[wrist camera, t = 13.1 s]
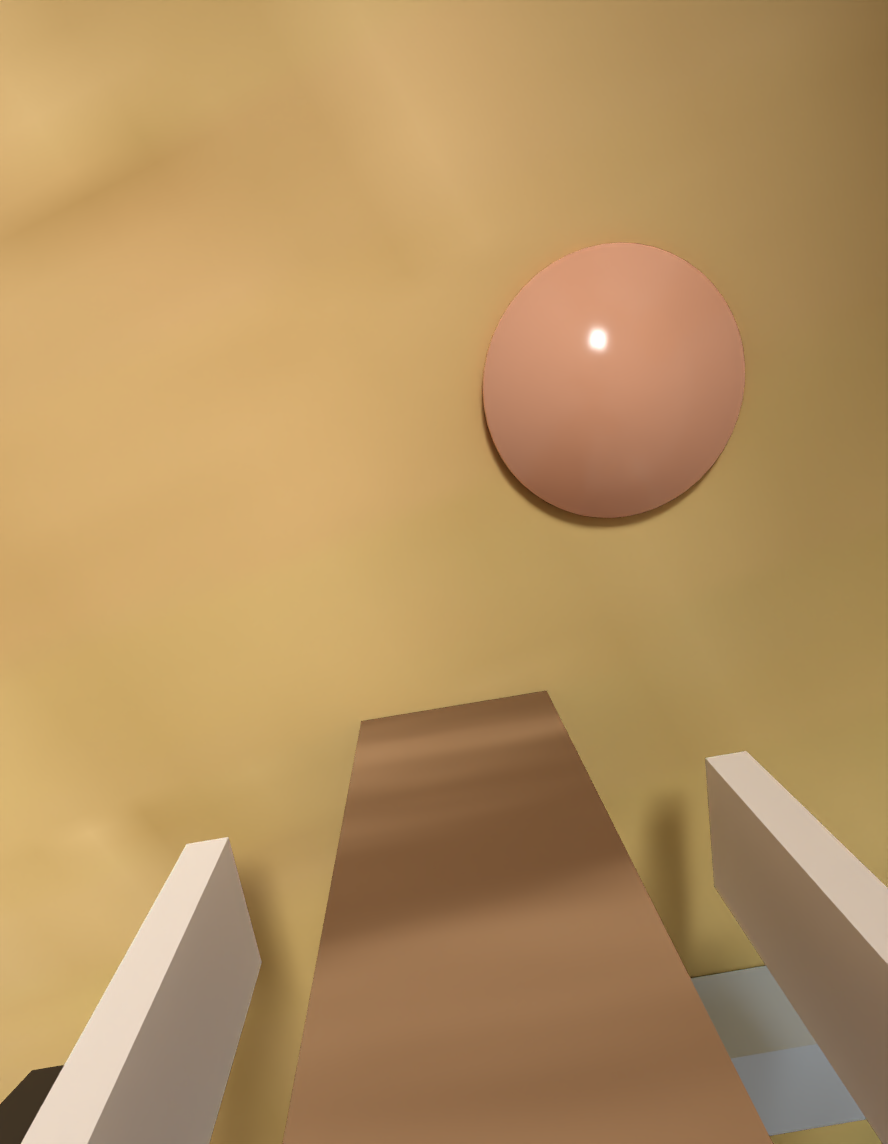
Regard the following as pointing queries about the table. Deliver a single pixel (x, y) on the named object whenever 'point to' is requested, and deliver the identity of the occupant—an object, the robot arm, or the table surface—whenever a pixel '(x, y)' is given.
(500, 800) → the peg
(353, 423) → the table surface
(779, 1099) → the grey window frame
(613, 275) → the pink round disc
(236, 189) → the table surface
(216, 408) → the table surface
